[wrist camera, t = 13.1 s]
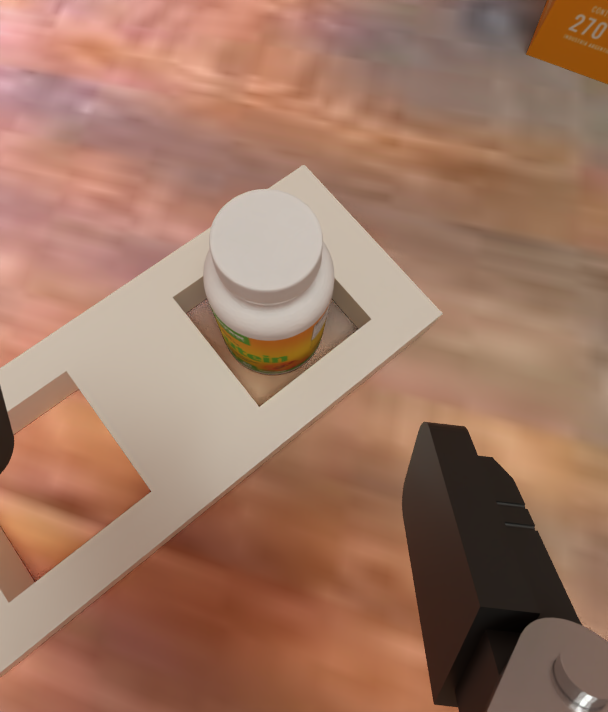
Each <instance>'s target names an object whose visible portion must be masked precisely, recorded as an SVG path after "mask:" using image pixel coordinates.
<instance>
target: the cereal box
mask: <svg viewBox="0 0 608 712" xmlns="http://www.w3.org/2000/svg"><path fill="white" fill-rule="evenodd" d="M526 55H529V56H532V57H535V58H537V59H540V60H543V61H546V62H548V63H551V64H554V65H557V66H559V67H562V68H565V69H568V70H570V71H573V72H576V73H578V74H581V75H584V76H587V77H589V78H592V79H595V80H598V81H600V82H603V83H606V84H608V0H547V2H546V4H545V7H544V9H543V12H542V15H541V17H540V20H539V22H538V25H537V27H536V30H535V33H534V35H533V38H532V40H531V43H530V45H529V48H528V50H527V53H526Z"/></svg>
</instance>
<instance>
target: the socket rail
mask: <svg viewBox="0 0 608 712" xmlns="http://www.w3.org/2000/svg"><path fill="white" fill-rule="evenodd" d="M268 189H273V190H279V191H283V192H286V193H289V194H291V195H293V196H295V197H297V198H299V199H300V200H302V201H303V202H304V203H305V204H307V205H308V206H309V207H310V209H311V210H312V211H313V212H314V214H315V215H316V217H317V219H318V221H319V223H320V226H321V230H322V234H323V242H324V243H325V245H326V246H327V248H328V250H329V252H330V255H331V257H332V261H333V266H334V289H333V294H332V299H333V301H334V302H335V303H336V304H337V305H338V306H339V307H340V309H341V310H342V311H343V312H344V313H345V314H346V315H347V317H348V318H349V319H350V320H351V321H352V322H353V323H354V324H355V326H356V327H357V328H358V330H357V331H356V332H355V333H353V334H352V335H351V336H349V337H348V338H347V339H346V340H344V341H343V342H342V343H340V344H339V345H338V346H337V347H335V348H334V349H333V350H331V351H330V352H329V353H328V354H326V355H325V356H324V357H323V358H321V359H320V360H319V361H317V362H316V363H315V364H314V365H312V366H311V367H310V368H308V369H307V370H306V371H305V372H303V373H302V374H301V375H300V376H298V377H297V378H296V379H294V380H293V381H292V382H291V383H289V384H288V385H287V386H285V387H284V388H283V389H282V390H280V391H279V392H278V393H277V394H275V395H274V396H273V397H271V398H270V399H269V400H268V401H266V402H265V403H264V404H262V405H261V406H260V407H259V406H258V405H257V403H256V402H255V401H254V400H253V398H252V397H251V396H250V395H249V393H248V392H247V391H246V389H245V388H244V387H243V386H242V384H241V383H240V382H239V381H238V379H237V378H236V377H235V376H234V374H233V373H232V372H231V371H230V369H229V368H228V367H227V365H226V364H225V363H224V362H223V360H222V359H221V358H220V357H219V355H218V354H217V353H216V352H215V350H214V349H213V348H212V346H211V345H210V344H209V343H208V341H207V340H206V339H205V338H204V336H203V335H202V334H201V333H200V331H199V330H198V329H197V328H196V326H195V325H194V324H193V322H192V321H191V320H190V319H189V317H188V316H187V315H186V314H185V313H187V312H188V311H190V310H191V309H193V308H194V307H195V306H197V305H198V304H200V303H201V302H202V301H204V300H205V299H207V297H206V293H205V289H204V282H203V270H204V263H205V259H206V256H207V253H208V251H209V249H210V247H209V236H210V230H211V227H210V228H209V229H207V230H206V231H204V232H203V233H201V234H200V235H198V236H197V237H195V238H194V239H192V240H191V241H189V242H188V243H186V244H185V245H183V246H182V247H180V248H179V249H177V250H176V251H174V252H173V253H171V254H170V255H168V256H167V257H165V258H164V259H162V260H161V261H159V262H158V263H156V264H155V265H153V266H152V267H150V268H149V269H147V270H146V271H145V272H143V273H142V274H140V275H139V276H137V277H136V278H134V279H133V280H131V281H130V282H128V283H127V284H125V285H124V286H122V287H121V288H119V289H118V290H116V291H115V292H113V293H112V294H110V295H109V296H107V297H106V298H104V299H103V300H101V301H100V302H98V303H97V304H95V305H94V306H92V307H91V308H89V309H88V310H86V311H85V312H83V313H82V314H80V315H79V316H77V317H76V318H74V319H73V320H71V321H70V322H68V323H67V324H65V325H64V326H62V327H61V328H60V329H58V330H57V331H55V332H54V333H52V334H51V335H49V336H48V337H46V338H45V339H43V340H42V341H40V342H39V343H37V344H36V345H34V346H33V347H31V348H30V349H28V350H27V351H25V352H24V353H22V354H21V355H19V356H18V357H16V358H15V359H13V360H12V361H10V362H9V363H7V364H6V365H4V366H3V367H1V368H0V386H1V390H2V394H3V397H4V401H5V405H6V409H7V413H8V416H9V420H10V424H11V428H12V431H13V435H14V434H15V433H17V432H18V431H20V430H21V429H23V428H24V427H25V426H27V425H28V424H30V423H31V422H32V421H34V420H35V419H37V418H38V417H40V416H41V415H42V414H44V413H45V412H47V411H48V410H49V409H51V408H52V407H54V406H55V405H57V404H58V403H59V402H61V401H62V400H64V399H65V398H66V397H68V396H69V395H71V394H72V393H74V392H75V391H76V390H78V389H79V390H80V391H81V392H82V394H83V395H84V397H85V398H86V400H87V401H88V402H89V404H90V405H91V407H92V408H93V409H94V411H95V412H96V414H97V415H98V417H99V418H100V419H101V421H102V422H103V424H104V425H105V426H106V428H107V429H108V431H109V432H110V434H111V435H112V436H113V438H114V439H115V441H116V442H117V444H118V445H119V446H120V448H121V449H122V451H123V452H124V453H125V455H126V456H127V458H128V459H129V461H130V462H131V463H132V465H133V466H134V468H135V469H136V470H137V472H138V473H139V475H140V476H141V478H142V479H143V480H144V482H145V483H146V485H147V486H148V488H149V489H150V490H151V492H150V493H149V494H147V495H146V496H145V497H144V498H142V499H141V500H140V501H138V502H137V503H136V504H135V505H133V506H132V507H131V508H129V509H128V510H127V511H126V512H124V513H123V514H122V515H121V516H119V517H118V518H117V519H115V520H114V521H113V522H112V523H110V524H109V525H108V526H106V527H105V528H104V529H103V530H101V531H100V532H99V533H98V534H96V535H95V536H94V537H92V538H91V539H90V540H89V541H87V542H86V543H85V544H83V545H82V546H81V547H80V548H78V549H77V550H76V551H74V552H73V553H72V554H71V555H69V556H68V557H67V558H66V559H64V560H63V561H62V562H60V563H59V564H58V565H57V566H55V567H54V568H53V569H51V570H50V571H49V572H48V573H46V574H45V575H44V576H43V577H41V578H40V579H39V580H37V581H36V582H34V580H33V579H32V577H31V575H30V574H29V572H28V570H27V569H26V567H25V566H24V564H23V562H22V561H21V559H20V558H19V556H18V554H17V553H16V551H15V549H14V548H13V546H12V545H11V543H10V541H9V540H8V538H7V537H6V535H5V533H4V532H3V530H2V528H1V527H0V677H2V676H3V675H4V674H6V673H7V672H8V671H9V670H10V669H12V668H13V667H14V666H15V665H17V664H18V663H19V662H20V661H22V660H23V659H24V658H25V657H26V656H28V655H29V654H30V653H31V652H33V651H34V650H35V649H36V648H38V647H39V646H40V645H41V644H42V643H44V642H45V641H46V640H47V639H49V638H50V637H51V636H52V635H54V634H55V633H56V632H57V631H58V630H60V629H61V628H62V627H63V626H65V625H66V624H67V623H68V622H69V621H71V620H72V619H73V618H74V617H76V616H77V615H78V614H79V613H81V612H82V611H83V610H84V609H85V608H87V607H88V606H89V605H90V604H92V603H93V602H94V601H95V600H97V599H98V598H99V597H100V596H101V595H103V594H104V593H105V592H106V591H108V590H109V589H110V588H111V587H112V586H114V585H115V584H116V583H117V582H119V581H120V580H121V579H122V578H124V577H125V576H126V575H127V574H128V573H130V572H131V571H132V570H133V569H135V568H136V567H137V566H138V565H140V564H141V563H142V562H143V561H144V560H146V559H147V558H148V557H149V556H151V555H152V554H153V553H154V552H156V551H157V550H158V549H159V548H160V547H162V546H163V545H164V544H165V543H167V542H168V541H169V540H170V539H171V538H173V537H174V536H175V535H176V534H178V533H179V532H180V531H181V530H183V529H184V528H185V527H186V526H187V525H189V524H190V523H191V522H192V521H194V520H195V519H196V518H197V517H199V516H200V515H201V514H202V513H203V512H205V511H206V510H207V509H208V508H210V507H211V506H212V505H213V504H215V503H216V502H217V501H218V500H219V499H221V498H222V497H223V496H224V495H226V494H227V493H228V492H229V491H230V490H232V489H233V488H234V487H235V486H237V485H238V484H239V483H240V482H242V481H243V480H244V479H245V478H246V477H248V476H249V475H250V474H251V473H253V472H254V471H255V470H256V469H258V468H259V467H260V466H261V465H262V464H264V463H265V462H266V461H267V460H269V459H270V458H271V457H272V456H273V455H275V454H276V453H277V452H278V451H280V450H281V449H282V448H283V447H285V446H286V445H287V444H288V443H289V442H291V441H292V440H293V439H294V438H296V437H297V436H298V435H299V434H301V433H302V432H303V431H304V430H305V429H307V428H308V427H309V426H310V425H312V424H313V423H314V422H315V421H317V420H318V419H319V418H320V417H321V416H323V415H324V414H325V413H326V412H328V411H329V410H330V409H331V408H332V407H334V406H335V405H336V404H337V403H339V402H340V401H341V400H342V399H344V398H345V397H346V396H347V395H348V394H350V393H351V392H352V391H353V390H355V389H356V388H357V387H358V386H360V385H361V384H362V383H363V382H364V381H366V380H367V379H368V378H369V377H371V376H372V375H373V374H374V373H376V372H377V371H378V370H379V369H380V368H382V367H383V366H384V365H385V364H387V363H388V362H389V361H390V360H391V359H393V358H394V357H395V356H396V355H398V354H399V353H400V352H401V351H403V350H404V349H405V348H406V347H407V346H409V345H410V344H411V343H412V342H414V341H415V340H416V339H417V338H419V337H420V336H421V335H422V334H423V333H425V332H426V331H427V330H428V329H429V328H430V327H431V326H432V325H433V324H434V323H435V322H436V320H437V319H438V318H439V317H440V316H441V315H442V314H443V313H442V312H441V311H440V310H439V309H438V308H437V307H436V306H435V305H434V304H433V303H432V302H431V301H430V299H429V298H428V297H427V296H426V295H425V294H424V293H423V292H422V291H421V290H420V289H419V288H418V287H417V286H416V284H415V283H414V282H413V281H412V280H411V279H410V278H409V277H408V276H407V275H406V274H405V273H404V272H403V270H402V269H401V268H400V267H399V266H398V265H397V264H396V263H395V262H394V261H393V260H392V259H391V258H390V256H389V255H388V254H387V253H386V252H385V251H384V250H383V249H382V248H381V247H380V246H379V245H378V244H377V242H376V241H375V240H374V239H373V238H372V237H371V236H370V235H369V234H368V233H367V232H366V231H365V230H364V228H363V227H362V226H361V225H360V224H359V223H358V222H357V221H356V220H355V219H354V218H353V217H352V216H351V214H350V213H349V212H348V211H347V210H346V209H345V208H344V207H343V206H342V205H341V204H340V203H339V202H338V200H337V199H336V198H335V197H334V196H333V195H332V194H331V193H330V192H329V191H328V190H327V189H326V188H325V186H324V185H323V184H322V183H321V182H320V181H319V180H318V179H317V178H316V177H315V176H314V175H313V174H312V172H311V171H310V170H309V169H308V168H307V167H306V166H305V165H303V166H301V167H300V168H298V169H297V170H295V171H294V172H292V173H291V174H289V175H288V176H286V177H285V178H283V179H282V180H280V181H279V182H277V183H276V184H274V185H273V186H271V187H270V188H268Z"/></svg>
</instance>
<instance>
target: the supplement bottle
mask: <svg viewBox="0 0 608 712" xmlns="http://www.w3.org/2000/svg"><path fill="white" fill-rule="evenodd" d="M209 247H210V249H209V251H208V253H207V256H206V259H205V263H204V270H203V282H204V289H205V293H206V297H207V300H208V302H209V305H210V307H211V309H212V311H213V314H214V316H215V318H216V321H217V324H218V326H219V328H220V330H221V333H222V335H223V338H224V340H225V343H226V345H227V347H228V349H229V351H230V352H231V354H232V355H233V356H234V357H235V359H236V360H237V361H238V362H240V363H241V364H242V365H244V366H245V367H247V368H248V369H250V370H253V371H255V372H258V373H262V374H269V375H276V374H284V373H287V372H291V371H293V370H295V369H297V368H299V367H301V366H302V365H303V364H305V363H306V362H307V361H308V360H309V359H310V358H311V357H312V355H313V354H314V353H315V351H316V349H317V348H318V345H319V343H320V341H321V338H322V334H323V330H324V326H325V322H326V318H327V314H328V310H329V306H330V302H331V298H332V294H333V289H334V266H333V261H332V257H331V255H330V252H329V250H328V248H327V246H326V245H325V243H324V242H323V234H322V230H321V226H320V223H319V221H318V219H317V217H316V215H315V214H314V212H313V211H312V210H311V209H310V207H309V206H308V205H307V204H305V203H304V202H303V201H302V200H300V199H299V198H297V197H295V196H293V195H291V194H289V193H286V192H283V191H279V190H273V189H258V190H253V191H249V192H246V193H243V194H241V195H239V196H237V197H235V198H233V199H232V200H230V201H229V202H228V203H227V204H225V205H224V207H223V208H222V209H221V210H220V211H219V213H218V214H217V215H216V217H215V219H214V221H213V224H212V226H211V230H210V236H209Z"/></svg>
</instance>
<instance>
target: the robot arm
mask: <svg viewBox="0 0 608 712" xmlns="http://www.w3.org/2000/svg"><path fill="white" fill-rule="evenodd" d="M13 448H14V435H13V431H12V428H11V424H10V420H9V416H8V413H7V409H6V405H5V401H4V397H3V394H2V390H1V386H0V474H1V473H2V471H3V470H4V469H5V468H6V466H7V465H8V463H9V461H10V459H11V456H12V453H13ZM402 511H403V519H404V525H405V531H406V537H407V544H408V550H409V556H410V562H411V568H412V574H413V580H414V586H415V592H416V598H417V604H418V610H419V616H420V623H421V629H422V635H423V641H424V647H425V653H426V659H427V665H428V671H429V677H430V683H431V689H432V696H433V702H434V704H435V705H444V706H453V707H458V709H459V712H608V642H607V641H606V640H604V639H603V638H602V637H600V636H599V635H597V634H596V633H595V632H593V631H591V630H589V629H588V628H586V627H584V626H582V624H581V622H580V620H579V619H578V617H577V615H576V612H575V610H574V608H573V606H572V604H571V602H570V599H569V597H568V595H567V593H566V591H565V589H564V587H563V584H562V582H561V580H560V578H559V576H558V574H557V572H556V569H555V567H554V565H553V563H552V561H551V559H550V557H549V554H548V552H547V550H546V548H545V546H544V544H543V542H542V539H541V537H540V535H539V533H538V531H535V528H534V527H535V524H534V522H533V520H532V518H531V516H530V514H529V512H528V509H525V503H524V501H523V499H522V497H521V494H520V492H519V490H518V488H517V486H516V484H515V482H514V479H513V478H512V477H511V476H510V475H509V474H508V473H507V472H506V471H505V470H504V469H503V468H502V467H501V466H500V465H499V464H498V463H497V462H496V461H495V460H494V459H493V457H485V456H478V455H477V452H476V450H475V447H474V445H473V442H472V440H471V437H470V435H469V432H468V430H467V429H466V427H464V426H456V425H447V424H438V423H430V422H423V423H422V425H421V426H420V429H419V432H418V435H417V439H416V442H415V446H414V449H413V453H412V457H411V460H410V464H409V467H408V471H407V474H406V478H405V482H404V487H403V496H402Z"/></svg>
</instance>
